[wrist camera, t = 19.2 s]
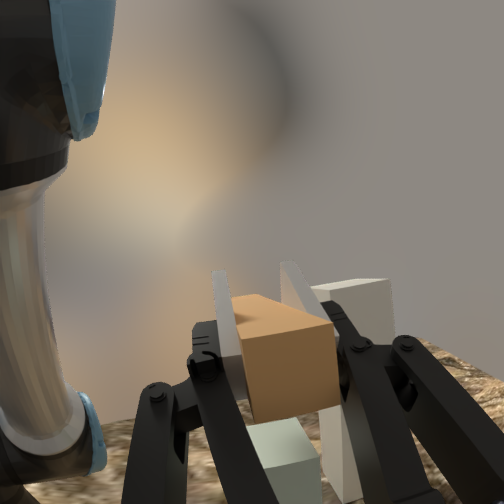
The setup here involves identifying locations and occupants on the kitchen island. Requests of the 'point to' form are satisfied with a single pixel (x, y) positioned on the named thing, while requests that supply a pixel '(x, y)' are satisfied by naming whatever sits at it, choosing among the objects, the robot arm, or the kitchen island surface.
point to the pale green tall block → (288, 461)
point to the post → (332, 419)
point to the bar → (285, 359)
